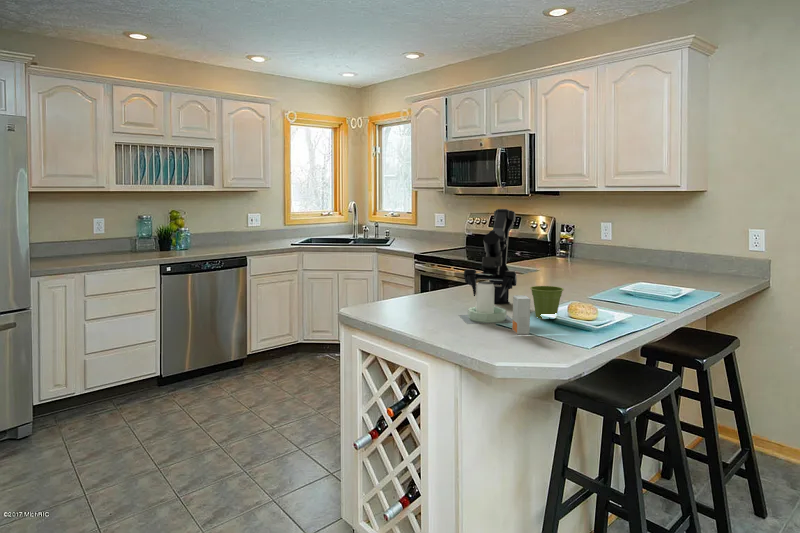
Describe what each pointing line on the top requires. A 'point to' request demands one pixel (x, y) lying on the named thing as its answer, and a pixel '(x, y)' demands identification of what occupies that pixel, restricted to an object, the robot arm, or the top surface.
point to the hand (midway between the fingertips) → (487, 296)
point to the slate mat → (468, 321)
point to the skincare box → (521, 314)
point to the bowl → (487, 315)
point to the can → (485, 297)
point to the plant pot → (546, 299)
